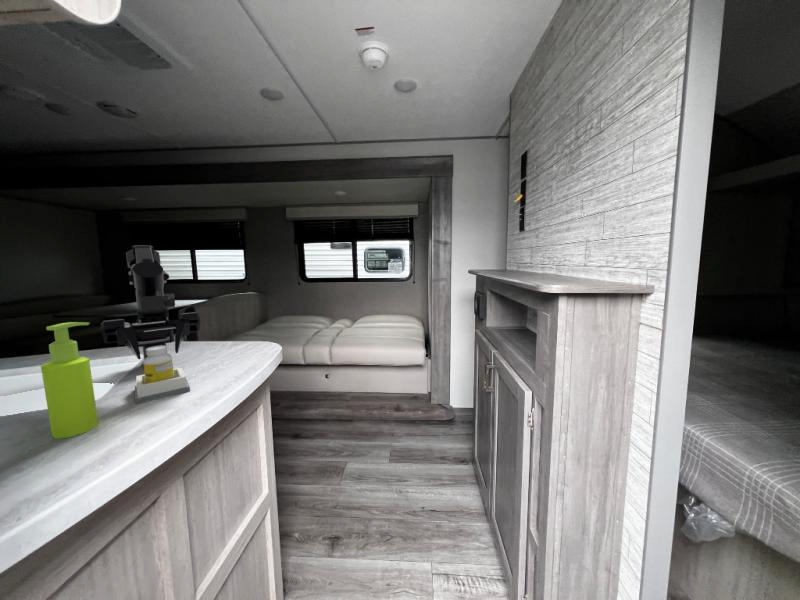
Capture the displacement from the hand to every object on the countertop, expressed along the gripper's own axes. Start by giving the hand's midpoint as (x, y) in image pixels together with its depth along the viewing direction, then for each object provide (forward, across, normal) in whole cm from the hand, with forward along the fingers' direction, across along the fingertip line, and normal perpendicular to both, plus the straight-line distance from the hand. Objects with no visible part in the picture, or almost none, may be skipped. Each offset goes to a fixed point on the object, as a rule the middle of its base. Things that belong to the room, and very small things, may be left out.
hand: (158, 355), depth 71 cm
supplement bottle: (+5, 0, +7) cm, 8 cm away
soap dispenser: (+13, -13, 0) cm, 19 cm away
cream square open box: (+5, 0, +8) cm, 9 cm away
